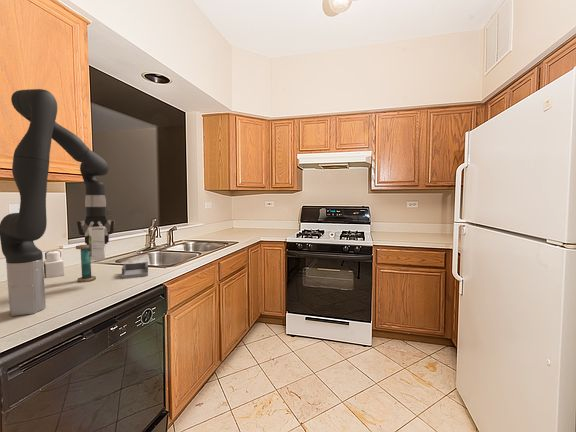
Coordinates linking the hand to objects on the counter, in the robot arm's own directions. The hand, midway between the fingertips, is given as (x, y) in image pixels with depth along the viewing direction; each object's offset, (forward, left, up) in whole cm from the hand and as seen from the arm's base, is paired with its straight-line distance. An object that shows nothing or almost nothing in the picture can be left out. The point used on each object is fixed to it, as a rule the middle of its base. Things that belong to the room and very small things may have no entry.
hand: (97, 244), depth 129 cm
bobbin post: (+9, +6, -18) cm, 21 cm away
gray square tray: (+10, -14, -18) cm, 25 cm away
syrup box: (0, 0, -7) cm, 7 cm away
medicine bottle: (+25, +22, -18) cm, 38 cm away
